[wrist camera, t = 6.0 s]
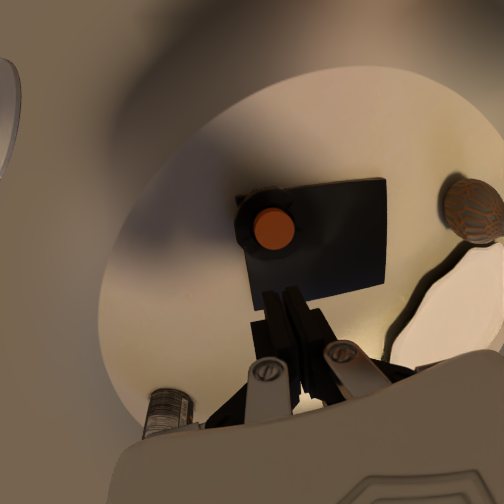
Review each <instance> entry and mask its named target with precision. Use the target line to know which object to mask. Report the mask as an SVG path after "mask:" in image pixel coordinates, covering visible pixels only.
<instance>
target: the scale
mask: <svg viewBox="0 0 504 504" xmlns="http://www.w3.org/2000/svg"><path fill="white" fill-rule="evenodd" d="M235 199H236V205H237V210H236V213H235V215H234V219H233V221H234V228H235V234H236V240H237V243H238V244H239V245H240V246H241V247H242V248H243V250H244V253H245V259H246V265H247V271H248V277H249V282H250V288H251V294H252V300H253V306H254V310H255V311H258V310H264V307H263V301H262V295H261V292H265V291H270V290H273V292H274V293H275V292H278V294H279V296H280V299H281V302H282V296H281V291H285V287H290V286H294V285H297V286H298V288H299V290H300V292H301V294H302V296H303V298H304V300H305V302H306V301H310V300H315V299H320V298H325V297H329V296H334V295H338V294H343V293H347V292H351V291H356V290H360V289H364V288H368V287H372V286H376V285H380V284H384V280H385V266H386V247H387V188H386V179H384V178H373V179H362V180H351V181H341V182H332V183H323V184H314V185H306V186H298V187H291V188H284V189H281V188H278V187H276V186H271V187H265V188H258V189H255V190H253V191H252V192H251V193H250V194H244V195H238V196H235ZM270 207H275V208H279V209H281V210H283V211H284V212H285V213H286V214H287V215H288V216H289V217H290V218H291V220H292V221H293V224H294V235H293V238H292V240H291V241H290V242H289V244H287V245H286V246H285V247H283V248H280V249H276V250H272V249H267V248H265V247H263V246H262V245H261V244H260V243H259V242H258V241H257V239H256V236H255V233H254V230H253V223H254V219H255V217H256V216H257V214H258V213H259V212H260V211H262V210H264V209H266V208H270Z"/></svg>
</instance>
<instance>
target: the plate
mask: <svg viewBox="0 0 504 504" xmlns="http://www.w3.org/2000/svg"><path fill="white" fill-rule="evenodd" d="M503 321H504V247H503V245H502V243H499V242H496V243H494V244H492V245H490V246H488V247H473V248H471V249H469V250H468V251H467V252H466V253H465V254H464V255H463V257H462V258H461V259H460V260H459V261H458V263H457V264H456V265H455V266H454V267H453V268H452V269H451V270H450V271H449V272H447V273H446V274H445V275H443V276H442V277H441V278H439V279H438V280H437V281H435V282H434V283H433V284H432V285H431V286H430V287H429V289H428V290H427V291H426V293H425V295H424V297H423V299H422V300H421V302H420V304H419V306H418V308H417V310H416V312H415V314H414V315H413V317H412V318H411V319H410V320H409V322H408V323H407V324H406V325H405V327H404V328H403V329H402V330H401V332H400V333H399V334H398V335H397V336H396V338H395V340H394V342H393V344H392V346H391V353H390V360H389V363H391V364H396V365H400V366H404V367H407V368H410V369H412V370H415V367H417V366H422V365H426V364H430V363H434V362H438V361H442V360H446V359H449V358H452V357H454V356H457V355H460V354H462V353H466V352H469V351H474V350H480V349H487V348H488V347H489V345H490V344H491V343H492V341H493V340H494V339H495V337H496V336H497V334H498V333H499V331H500V329H501V327H502V324H503Z"/></svg>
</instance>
